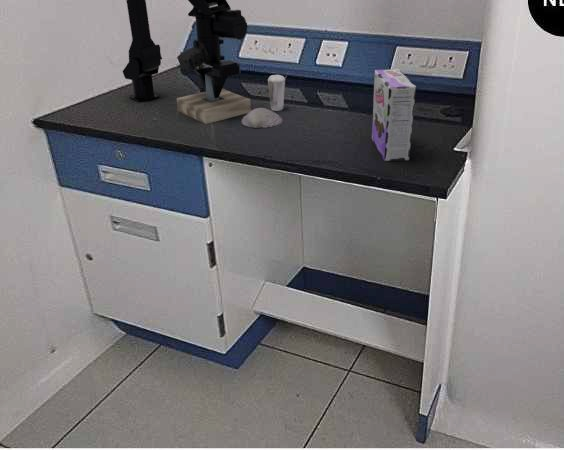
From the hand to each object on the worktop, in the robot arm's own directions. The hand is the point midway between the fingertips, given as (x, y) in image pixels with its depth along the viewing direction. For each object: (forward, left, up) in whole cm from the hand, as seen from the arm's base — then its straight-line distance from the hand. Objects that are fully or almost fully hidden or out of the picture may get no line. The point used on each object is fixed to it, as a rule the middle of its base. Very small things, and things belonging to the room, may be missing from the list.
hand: (212, 96), depth 165 cm
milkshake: (+10, +14, -4) cm, 18 cm away
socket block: (0, 0, -4) cm, 4 cm away
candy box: (+49, +15, -4) cm, 52 cm away
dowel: (0, 0, -3) cm, 3 cm away
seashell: (+15, +5, -5) cm, 16 cm away
